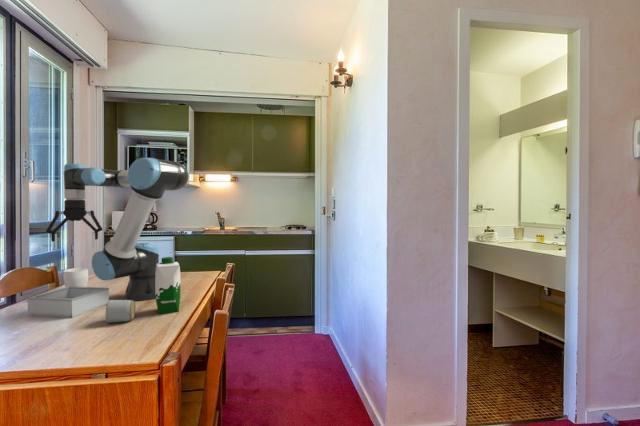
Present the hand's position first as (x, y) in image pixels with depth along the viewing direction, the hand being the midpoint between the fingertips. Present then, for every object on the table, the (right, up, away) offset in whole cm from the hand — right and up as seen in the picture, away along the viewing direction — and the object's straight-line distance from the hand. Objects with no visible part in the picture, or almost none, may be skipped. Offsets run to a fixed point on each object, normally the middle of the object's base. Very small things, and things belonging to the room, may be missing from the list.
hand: (75, 248), depth 154 cm
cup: (0, -22, +1) cm, 22 cm away
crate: (+11, -22, -18) cm, 30 cm away
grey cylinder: (+37, -23, -30) cm, 53 cm away
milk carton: (+49, -22, -19) cm, 57 cm away
